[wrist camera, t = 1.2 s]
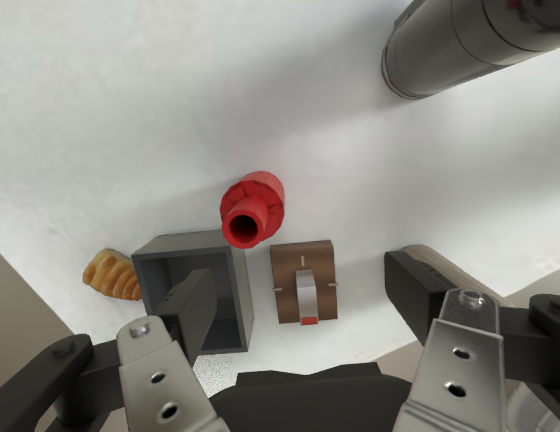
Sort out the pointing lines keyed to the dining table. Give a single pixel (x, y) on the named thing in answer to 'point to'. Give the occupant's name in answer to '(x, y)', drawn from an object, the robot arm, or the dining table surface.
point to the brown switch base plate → (304, 258)
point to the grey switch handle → (307, 297)
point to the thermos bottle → (519, 398)
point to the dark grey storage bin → (226, 276)
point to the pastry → (113, 276)
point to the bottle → (252, 209)
